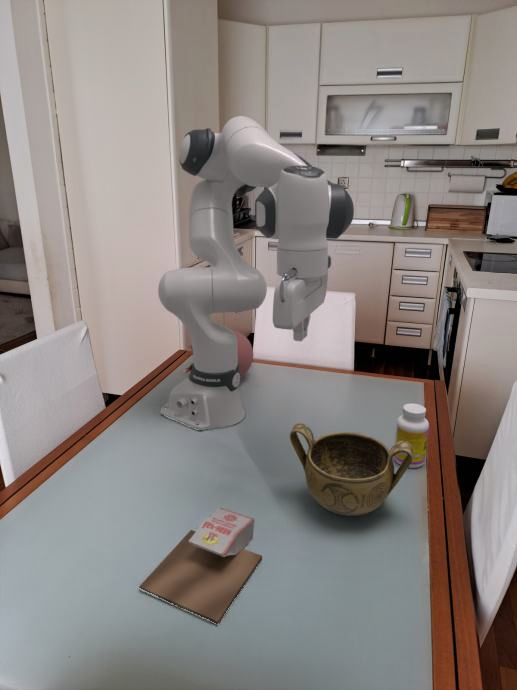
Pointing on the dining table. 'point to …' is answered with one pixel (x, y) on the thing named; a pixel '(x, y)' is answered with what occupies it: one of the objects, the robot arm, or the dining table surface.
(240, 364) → the balloon
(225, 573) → the walnut board
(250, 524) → the white red-printed box
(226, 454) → the dining table surface
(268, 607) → the dining table surface
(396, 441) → the supplement bottle
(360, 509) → the ceramic bowl
